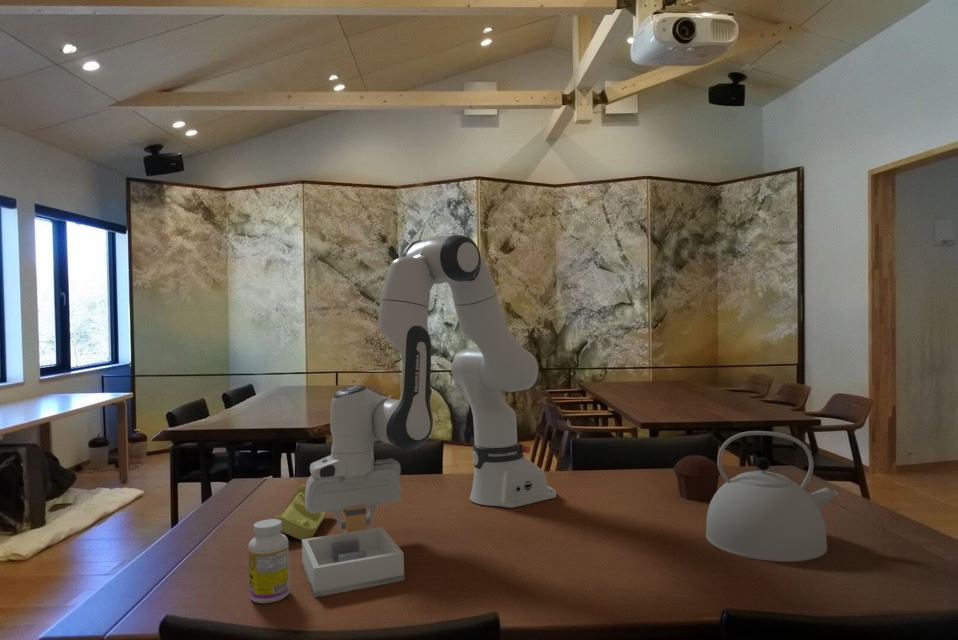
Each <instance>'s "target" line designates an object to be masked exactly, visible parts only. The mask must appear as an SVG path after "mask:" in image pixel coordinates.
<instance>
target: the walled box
mask: <svg viewBox="0 0 958 640" xmlns="http://www.w3.org/2000/svg"><path fill="white" fill-rule="evenodd" d="M301 558H302V559H301V561H302V567H304V568H303V570H304V573H305V572H306V573H305V575H307V576H306V579H307V581H308V584H309V583H310V584H309V586H310V589H311V591H313V592H312V594H313V596H314V598H319V597H324V596H330V595H335V594H336V595H337V594H341V593H346V592H352V591H356V590H361V589H366V588H371V587H376V586H382V585H387V584H392V583H397V582H403V581H405V557H404V552H403V551H402V549H401V548H400V547H399V546H398V544H397V543H396V542H395V541H394V540H393V539H392V537H391V536H390V534H389V533H388V531H386V530H385V529H384V527H382V526H380V527H374V528H366V530H360V531H353V532H347V533H344V532H341V533H335V534H329V535H322V536H317V537H316V536H315V537H312V538H309V539H302V540H301Z"/></svg>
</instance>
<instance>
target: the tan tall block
mask: <svg viewBox="0 0 958 640" xmlns="http://www.w3.org/2000/svg"><path fill="white" fill-rule="evenodd" d="M366 507H367V506H359V507H352V508H346V509H342V515H343V516H342V517H343V519H342V520H345V521H346V530H343V533H347V532H353V531H360V530H366V529H367V526H366V516H367V508H366Z"/></svg>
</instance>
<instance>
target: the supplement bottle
mask: <svg viewBox="0 0 958 640" xmlns="http://www.w3.org/2000/svg"><path fill="white" fill-rule="evenodd" d="M281 530H282V521H281V520H278V519H274V518H268V519H263V520H259V521H256V522H255V523H254V524H253V533H254V535H255V536H254V537H252V538H251V540H250V541H249V543H248V547H247V548H248V570H249V571H248V572H249V573H248V574H249V577H248V578H249V579H248V580H249V594H250V595H249V597H250V600H252V602H254V603H256V604H271V603H277V602H279V601H281V600H283V599H285V598H286V597H287V596H289V594H290V591H291V584H290V583H291V581H290V580H291V579H290V552H289V539H288V537H287V535H286V534H285V533H282V532H281Z"/></svg>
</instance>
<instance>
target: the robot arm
mask: <svg viewBox="0 0 958 640" xmlns="http://www.w3.org/2000/svg"><path fill="white" fill-rule="evenodd" d="M445 283H447V284H448V285H449V287H450V290H451V295H452V296H451V297H452V300H453V304H454V307H455V308H454V309H455V312H456V316H457V319H458V320H457V321H458V323H459V327H460V330H461V332H462V334H463V335H464V336H465V337H466V338H467V339H468V340H471V342H473V343H474V344H475V346H477V347H469V348H466V349H463V350H460V351H458V352H457V353H456V354H455V356H454V357H453V359H452V363H451V374H452V377H453V379H454V380H455V382H456V384H458V385H459V386H460V387H461V389H462V391H463V392H464V393H465V396H466V398H467V401H468V403H469V406H470V409H471V413H472V420H473V421H472V422H473V435H474V436H473V437H474V438H473V441H474V443H473V445H472V462H473V469H474V470H473V479H472V487H471V492H470V494H469V495H470V496H469V500H470V501H471V502H473V503H475V504H477V505H483V506H489V507H490V506H491V507H503V508H509V509H510V508H512V509H513V508H517V507H522V506H527V505H530V504H535V503H539V502H543V501H546V500H551V499H555V498H557V491H556V490H555V489H554V488H553V487H551V486H550V485H548V481H547V477H546V474H545V472H544V471H543V469H542V468H541V467H539V466H537V465H536V464H535V463H533V462H532V461H531V460H529V459H528V458H527V457H525V455H524V453H525V454H530V452H531V451H532V447H531V446H530V445H528V444H522V443H519V442H518V431H517V429H518V425H517V415H516V412H515V410H514V409H513V408H512V407H511V406H510V405H509V404H508V403H507V402H506V400H505V399H504V397H503V394H502V392H509V393H511V392H512V393H514V392H520V391H525V390H529V389H530V388H532V387H533V386H534V385H535V383H536V381H537V379H538V376H539V364H538V361H537V359H536V357H535V355H534V354H533V353H531V352H530V351H529V350H527V349H526V348H524V347H523V346H522V345H521V344H520V343H519V342H518V341H517V339H516V337H515V336H514V334H512V332H511V330H510V328H509V326H508V325H507V323H506V321H505V317H504V315H503V312H502V308H501V304H500V300H499V297H498V296H499V295H498V293H497V288H496V285H495V282H494V279H493V276H492V274H491V272H490V269H489V266H488V264H487V262H486V261H485V259H484V257H482V256H481V253H480V249H479V247H478V245H477V244H476V242H475V241H474V240H473V239H472V238H470V237H468V236H465V235H460V234H453V235H440V236H439V235H438V236H433V237H430V238H426V239H422V240H416V241H413V242H411V243H409V244H408V245H406V246H405V248H404V249H403V250H402V252H401V254H400V257H397V258H395V259H394V260H393V261H391V263H390V264H389V267H388V270H387V272H386V276H385V279H384V282H383V286H382V290H381V295H380V301H379V306H378V312H377V313H378V314H377V315H378V317H377V319H378V321H377V322H378V328H379V329H378V330H379V331H380V333H381V334H382V336H383V337H384V338H385V339H386V340H387V341H388V342H389V343H391V345H393V346H394V347H395V348H396V349H397V351H398V352H399V354H400V358H401V361H402V363H401V364H402V367H401V382H400V384H401V386H400V388H401V389H400V397H399V399H396V398H391V397H387V396H384V395H381V394H378V393H377V392H374V391H372V390H370V389H369V388H368V386H365V385H354V386H353V385H352V386H347V387H346V386H345V387H344V388H341V389H340V390H339V389H338V390H337V391H336V392H335V393H334V394H333V396H332V399H331V403H330V413H329V414H330V417H329V418H330V419H329V420H330V421H329V422H330V424H329V425H330V427H329V428H330V433H331V437H332V444H331V449H330V451H331V453H330V455H327V456H325V457H322V458H321V459H318V460H316V461H313V462H311V463H310V465H309V472H310V474H311V475H310V476H309V477H308V479H307V481H306V484H305V486H306V490H305V508H306V510H307V511H308V512H309V513H310V514H314V513H321V512H327V513H328V512H331V513H332V515H333V517H334V518H335V520H336V521H337V529H338V531H344V530H346V521H345V520H343V519H341V518H340V517H339V516H340V515H341V510H342V511H343V509H346V508H352V507H359V506H366V507H367V509H369V510H368V512H367V513H366V527H371V526H372V523H373V522H372V519H373V516H374V515H375V513H376V511H377V505H384V504H391V503H397V502H399V501H400V499H401V498H402V489H401V482H400V476H401V471H402V470H401V464H400V463H399V461H397V460H395V459H394V458H387V459H376V460H375V459H374V443H376V442H379V441H380V442H382V443H386V444H388V445H392V446H395V447H397V448H398V449H401V450H404V451H409V452H410V451H414V450H417V449H420V448H421V447H422V446H423V445H424V444H425V443H426V442H427V441H428V439H429V438H430V436H431V434H432V432H433V431H432V430H433V426H434V420H433V414H432V413H433V412H432V408H431V407H432V406H431V375H432V372H431V371H432V370H431V369H432V342H431V336H430V334H429V329H428V328H429V327H428V315H429V308H430V300H431V290H432V288H433V286H434V285H440V284H445Z"/></svg>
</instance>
